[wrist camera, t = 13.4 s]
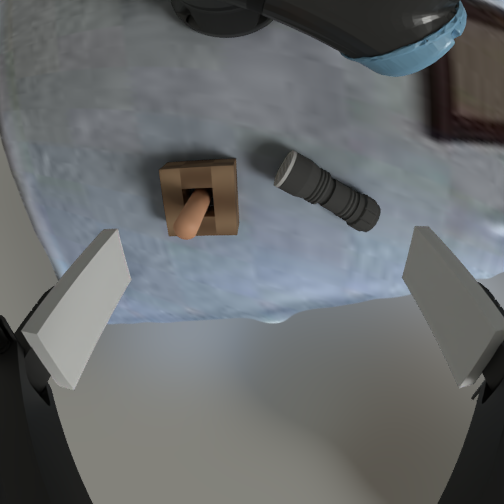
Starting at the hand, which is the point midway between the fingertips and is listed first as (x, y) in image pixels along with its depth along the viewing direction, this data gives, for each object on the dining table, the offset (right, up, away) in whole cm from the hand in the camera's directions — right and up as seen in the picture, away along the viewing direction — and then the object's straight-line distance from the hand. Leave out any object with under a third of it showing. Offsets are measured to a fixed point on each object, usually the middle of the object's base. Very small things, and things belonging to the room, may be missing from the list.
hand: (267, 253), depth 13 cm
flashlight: (+10, +10, +30) cm, 33 cm away
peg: (-8, +9, +31) cm, 33 cm away
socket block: (-8, +9, +31) cm, 33 cm away
